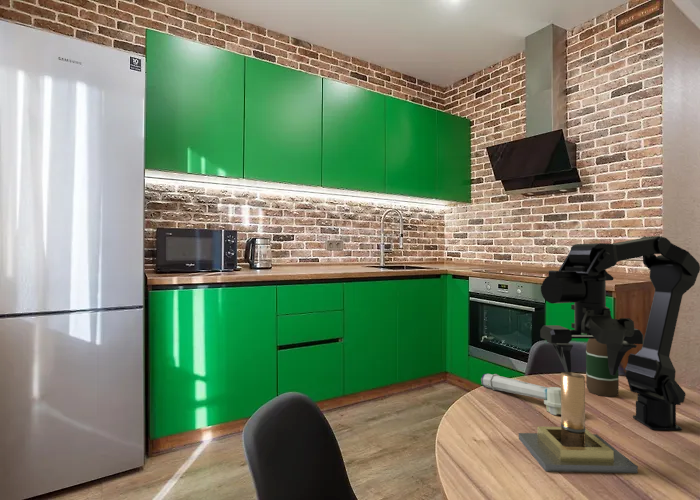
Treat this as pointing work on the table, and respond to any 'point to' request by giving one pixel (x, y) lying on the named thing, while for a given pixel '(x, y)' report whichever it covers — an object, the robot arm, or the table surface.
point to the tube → (572, 409)
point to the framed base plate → (575, 453)
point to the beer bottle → (600, 371)
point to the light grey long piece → (525, 390)
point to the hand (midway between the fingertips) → (590, 374)
